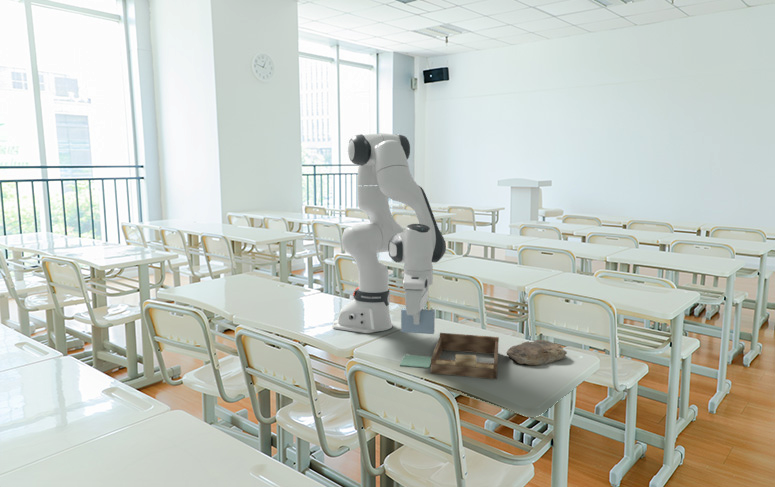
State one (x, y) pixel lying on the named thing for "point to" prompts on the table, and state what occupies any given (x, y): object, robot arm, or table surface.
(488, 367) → the offcut
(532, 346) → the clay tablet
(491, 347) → the rack
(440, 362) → the offcut
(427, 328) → the sheet
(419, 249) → the robot arm
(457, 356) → the offcut top
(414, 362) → the pad
